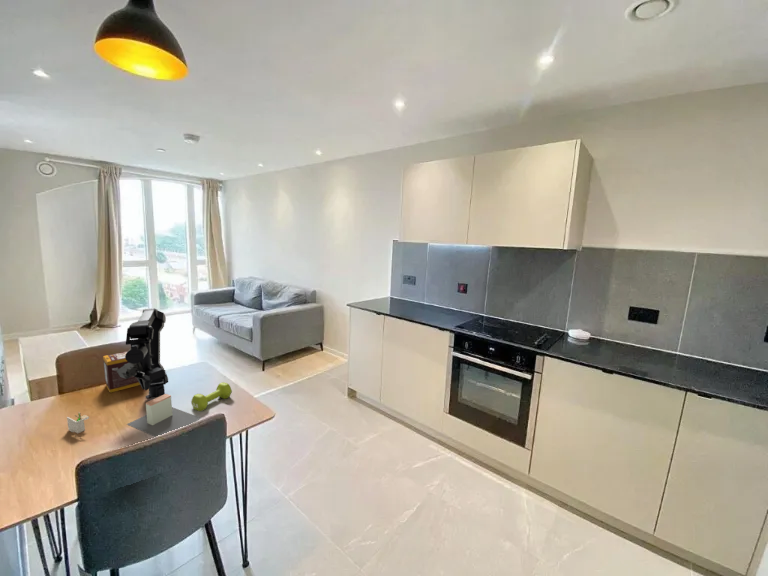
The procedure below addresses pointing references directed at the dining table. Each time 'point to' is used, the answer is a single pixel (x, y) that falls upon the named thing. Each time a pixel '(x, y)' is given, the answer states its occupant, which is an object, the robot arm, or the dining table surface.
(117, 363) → the supplement box
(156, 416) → the slab
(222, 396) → the dumbbell
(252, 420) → the dining table surface
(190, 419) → the mat
